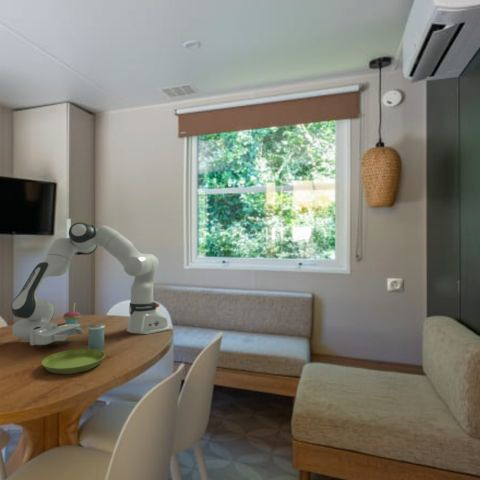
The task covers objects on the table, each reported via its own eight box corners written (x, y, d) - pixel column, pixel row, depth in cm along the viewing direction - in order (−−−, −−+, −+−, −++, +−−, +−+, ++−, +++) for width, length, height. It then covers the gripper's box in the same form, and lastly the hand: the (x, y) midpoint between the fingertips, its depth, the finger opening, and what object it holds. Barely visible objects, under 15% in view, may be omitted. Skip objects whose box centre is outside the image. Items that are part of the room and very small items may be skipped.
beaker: (103, 346, 140) (103, 323, 140) (105, 351, 134) (106, 326, 134) (87, 348, 136) (87, 325, 136) (88, 353, 131) (89, 328, 131)
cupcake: (70, 322, 181) (70, 300, 181) (84, 322, 180) (84, 301, 180) (59, 325, 172) (59, 303, 172) (74, 326, 171) (74, 303, 171)
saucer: (101, 374, 111) (101, 364, 111) (32, 380, 106) (33, 371, 106) (107, 354, 131) (107, 346, 131) (50, 358, 125) (50, 350, 125)
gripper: (65, 333, 151) (90, 335, 148) (26, 346, 131) (55, 349, 128) (65, 319, 151) (91, 321, 148) (27, 331, 131) (55, 333, 128)
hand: (74, 334), depth 138 cm, fingers open, 8 cm apart
